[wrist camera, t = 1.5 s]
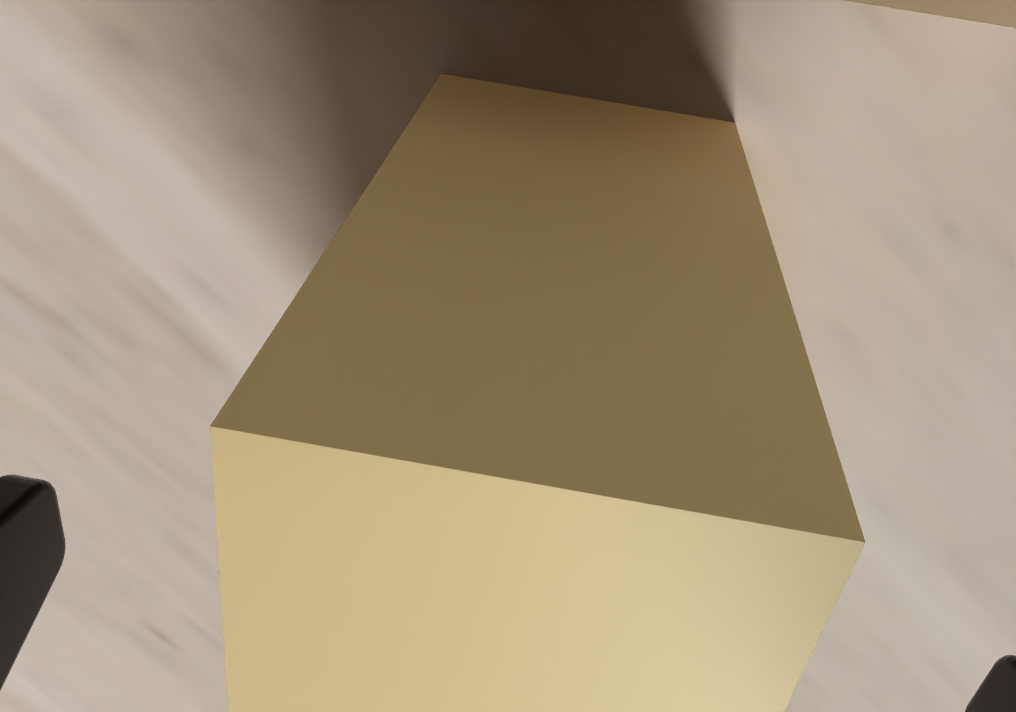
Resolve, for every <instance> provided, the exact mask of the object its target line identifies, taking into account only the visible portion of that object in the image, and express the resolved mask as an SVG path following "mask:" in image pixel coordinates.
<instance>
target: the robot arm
mask: <svg viewBox="0 0 1016 712" xmlns="http://www.w3.org/2000/svg"><path fill="white" fill-rule="evenodd" d="M64 554H65V538H64V532H63V527H62V522H61V517H60V511H59V506H58V501H57V496H56V492H55V489H54V487H53V486H52V485H51V484H50V483H49V482H47V481H45V480H40V479H34V478H29V477H23V476H18V475H6V476H2V477H0V690H1V688H2V686H3V684H4V682H5V680H6V678H7V676H8V674H9V672H10V670H11V668H12V666H13V664H14V662H15V660H16V658H17V655H18V653H19V651H20V649H21V647H22V645H23V643H24V641H25V639H26V637H27V635H28V633H29V631H30V629H31V627H32V625H33V623H34V621H35V619H36V617H37V615H38V613H39V611H40V608H41V606H42V604H43V602H44V600H45V598H46V596H47V594H48V592H49V590H50V588H51V586H52V584H53V582H54V580H55V578H56V576H57V574H58V572H59V570H60V567H61V565H62V562H63V559H64ZM965 712H1016V656H1014V655H1006V656H1004V657H1002V658H1000V659H998V660H997V662H996V663H995V664H994V666H993V667H992V669H991V670H990V672H989V673H988V675H987V676H986V678H985V679H984V681H983V683H982V684H981V686H980V687H979V689H978V690H977V692H976V693H975V695H974V696H973V698H972V699H971V701H970V702H969V704H968V706H967V708H966V710H965Z"/></svg>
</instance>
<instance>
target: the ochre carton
mask: <svg viewBox="0 0 1016 712" xmlns="http://www.w3.org/2000/svg"><path fill="white" fill-rule="evenodd" d="M210 433H211V449H212V466H213V482H214V498H215V515H216V531H217V547H218V563H219V580H220V596H221V612H222V629H223V645H224V661H225V678H226V694H227V710H228V712H784V711H785V709H786V707H787V705H788V703H789V700H790V698H791V696H792V694H793V692H794V690H795V688H796V686H797V684H798V682H799V680H800V677H801V675H802V673H803V671H804V669H805V667H806V665H807V663H808V661H809V659H810V657H811V655H812V652H813V650H814V648H815V646H816V644H817V642H818V640H819V638H820V636H821V634H822V632H823V629H824V627H825V625H826V623H827V621H828V619H829V617H830V615H831V613H832V611H833V609H834V607H835V604H836V602H837V600H838V598H839V596H840V594H841V592H842V590H843V588H844V586H845V584H846V582H847V579H848V577H849V575H850V573H851V571H852V569H853V567H854V565H855V563H856V561H857V559H858V556H859V554H860V552H861V550H862V548H863V546H864V544H865V540H864V537H863V533H862V530H861V527H860V524H859V521H858V517H857V514H856V511H855V508H854V504H853V501H852V498H851V495H850V491H849V488H848V485H847V482H846V479H845V475H844V472H843V469H842V466H841V462H840V459H839V456H838V453H837V450H836V446H835V443H834V440H833V437H832V433H831V430H830V427H829V424H828V421H827V417H826V414H825V411H824V408H823V404H822V401H821V398H820V395H819V392H818V388H817V385H816V382H815V379H814V375H813V372H812V369H811V366H810V363H809V359H808V356H807V353H806V350H805V346H804V343H803V340H802V337H801V333H800V330H799V327H798V324H797V321H796V317H795V314H794V311H793V308H792V304H791V301H790V298H789V295H788V292H787V288H786V285H785V282H784V279H783V275H782V272H781V269H780V266H779V263H778V259H777V256H776V253H775V250H774V246H773V243H772V240H771V237H770V234H769V230H768V227H767V224H766V221H765V217H764V214H763V211H762V208H761V205H760V201H759V198H758V195H757V192H756V188H755V185H754V182H753V179H752V176H751V172H750V169H749V166H748V163H747V159H746V156H745V153H744V150H743V146H742V143H741V140H740V137H739V134H738V130H737V127H736V124H735V122H729V121H723V120H717V119H711V118H705V117H699V116H693V115H687V114H681V113H675V112H669V111H663V110H657V109H651V108H645V107H639V106H633V105H627V104H621V103H615V102H609V101H603V100H597V99H591V98H585V97H579V96H573V95H567V94H561V93H555V92H548V91H542V90H536V89H530V88H524V87H518V86H512V85H506V84H500V83H494V82H488V81H482V80H476V79H470V78H464V77H458V76H452V75H446V74H441V75H440V76H439V78H438V79H437V81H436V82H435V84H434V85H433V87H432V89H431V90H430V92H429V93H428V95H427V96H426V98H425V99H424V101H423V102H422V104H421V105H420V107H419V108H418V110H417V111H416V113H415V114H414V116H413V118H412V119H411V121H410V122H409V124H408V125H407V127H406V128H405V130H404V131H403V133H402V134H401V136H400V137H399V139H398V140H397V142H396V143H395V145H394V146H393V148H392V150H391V151H390V153H389V154H388V156H387V157H386V159H385V160H384V162H383V163H382V165H381V166H380V168H379V169H378V171H377V172H376V174H375V175H374V177H373V179H372V180H371V182H370V183H369V185H368V186H367V188H366V189H365V191H364V192H363V194H362V195H361V197H360V198H359V200H358V201H357V203H356V204H355V206H354V208H353V209H352V211H351V212H350V214H349V215H348V217H347V218H346V220H345V221H344V223H343V224H342V226H341V227H340V229H339V230H338V232H337V233H336V235H335V236H334V238H333V240H332V241H331V243H330V244H329V246H328V247H327V249H326V250H325V252H324V253H323V255H322V256H321V258H320V259H319V261H318V262H317V264H316V265H315V267H314V269H313V270H312V272H311V273H310V275H309V276H308V278H307V279H306V281H305V282H304V284H303V285H302V287H301V288H300V290H299V291H298V293H297V294H296V296H295V297H294V299H293V301H292V302H291V304H290V305H289V307H288V308H287V310H286V311H285V313H284V314H283V316H282V317H281V319H280V320H279V322H278V323H277V325H276V326H275V328H274V330H273V331H272V333H271V334H270V336H269V337H268V339H267V340H266V342H265V343H264V345H263V346H262V348H261V349H260V351H259V352H258V354H257V355H256V357H255V359H254V360H253V362H252V363H251V365H250V366H249V368H248V369H247V371H246V372H245V374H244V375H243V377H242V378H241V380H240V381H239V383H238V384H237V386H236V387H235V389H234V391H233V392H232V394H231V395H230V397H229V398H228V400H227V401H226V403H225V404H224V406H223V407H222V409H221V410H220V412H219V413H218V415H217V416H216V418H215V420H214V421H213V423H212V424H211V426H210Z"/></svg>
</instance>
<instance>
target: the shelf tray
mask: <svg viewBox="0 0 1016 712" xmlns="http://www.w3.org/2000/svg"><path fill="white" fill-rule="evenodd" d="M847 1H853V2H859V3H866V4H872V5H878V6H884V7H890V8H896V9H903V10H909V11H915V12H921V13H927V14H933V15H940V16H946V17H952V18H958V19H964V20H970V21H977V22H983V23H989V24H995V25H1001V26H1007V27H1014V28H1016V0H847Z"/></svg>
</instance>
